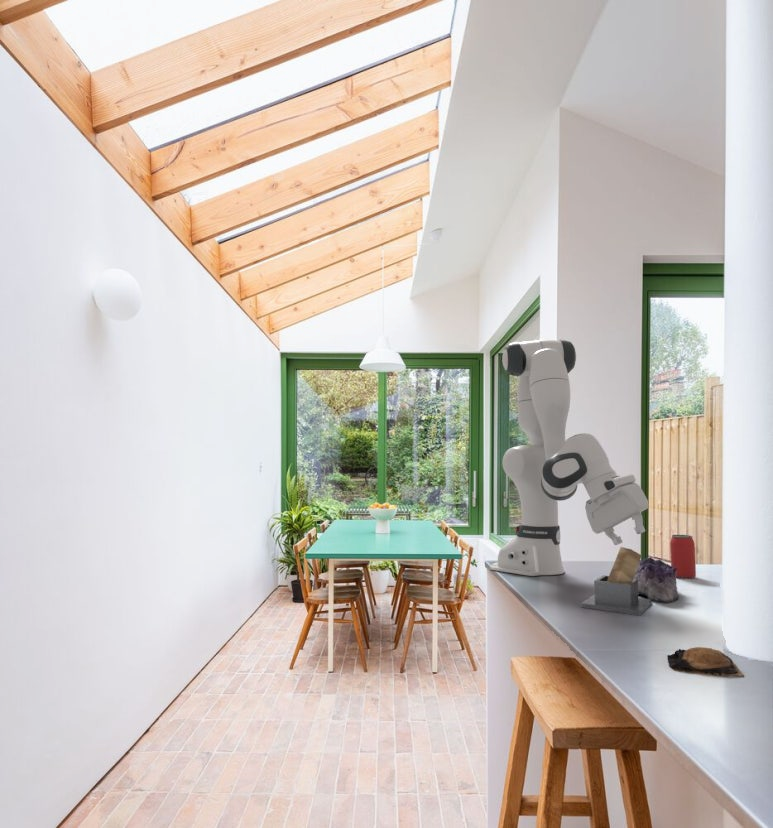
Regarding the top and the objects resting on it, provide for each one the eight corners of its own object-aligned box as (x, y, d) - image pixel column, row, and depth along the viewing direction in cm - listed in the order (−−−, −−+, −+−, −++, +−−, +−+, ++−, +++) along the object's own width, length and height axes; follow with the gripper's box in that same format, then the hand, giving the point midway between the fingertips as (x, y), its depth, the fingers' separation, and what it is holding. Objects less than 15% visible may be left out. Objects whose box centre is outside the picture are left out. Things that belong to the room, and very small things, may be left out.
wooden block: (602, 592, 144) (620, 546, 146) (613, 598, 145) (631, 552, 147) (612, 596, 141) (630, 549, 143) (623, 602, 142) (641, 555, 144)
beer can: (669, 577, 177) (667, 536, 178) (673, 574, 182) (671, 533, 183) (694, 580, 173) (692, 537, 174) (697, 576, 178) (696, 535, 179)
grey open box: (581, 607, 141) (580, 581, 142) (596, 596, 152) (595, 572, 152) (640, 615, 134) (639, 588, 134) (651, 603, 145) (650, 578, 145)
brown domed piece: (732, 665, 104) (732, 643, 104) (746, 682, 95) (745, 658, 96) (664, 658, 107) (663, 637, 107) (672, 675, 99) (671, 651, 99)
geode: (695, 605, 144) (688, 563, 145) (645, 609, 146) (638, 568, 147) (672, 584, 164) (666, 547, 165) (627, 588, 166) (621, 552, 167)
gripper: (574, 505, 167) (597, 553, 162) (618, 477, 150) (645, 529, 145) (592, 500, 169) (615, 547, 164) (637, 472, 152) (664, 523, 147)
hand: (630, 538), depth 154 cm, fingers open, 8 cm apart
